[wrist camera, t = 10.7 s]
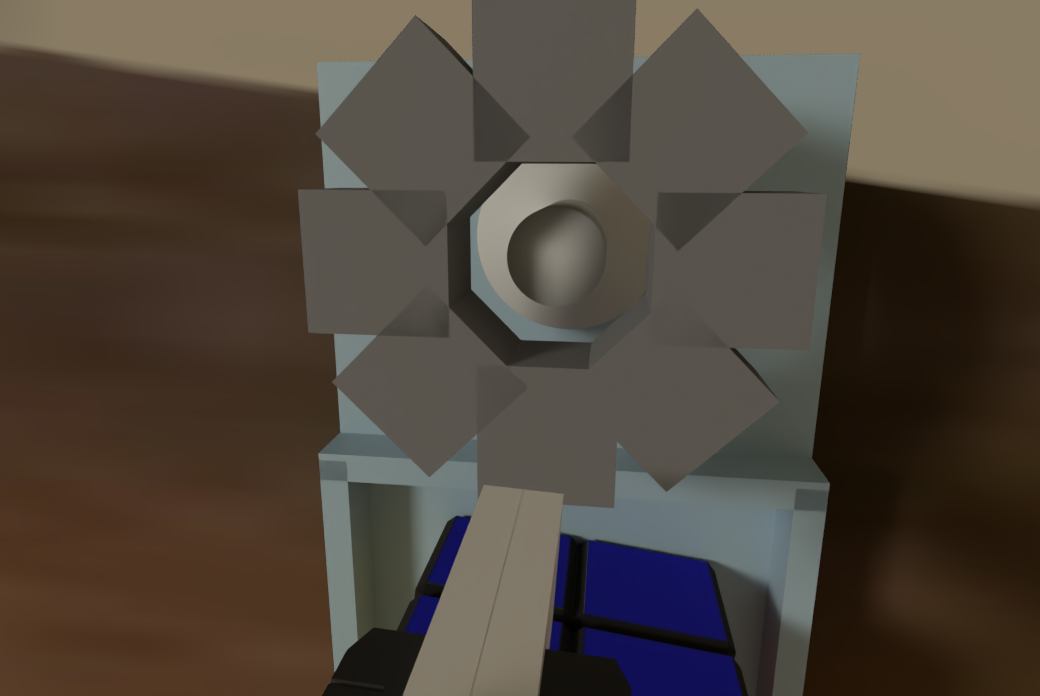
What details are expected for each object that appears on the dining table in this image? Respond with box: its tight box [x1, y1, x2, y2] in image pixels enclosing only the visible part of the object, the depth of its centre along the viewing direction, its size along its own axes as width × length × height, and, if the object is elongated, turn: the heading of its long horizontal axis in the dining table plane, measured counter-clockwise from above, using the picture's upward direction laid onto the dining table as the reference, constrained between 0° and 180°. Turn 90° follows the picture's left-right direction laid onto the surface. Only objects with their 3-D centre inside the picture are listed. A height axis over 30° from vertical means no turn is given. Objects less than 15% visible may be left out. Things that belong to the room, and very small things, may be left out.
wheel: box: [298, 0, 827, 508], centre depth 16 cm, size 11×11×2 cm
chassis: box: [317, 54, 860, 696], centre depth 23 cm, size 30×17×8 cm, turn 0°
